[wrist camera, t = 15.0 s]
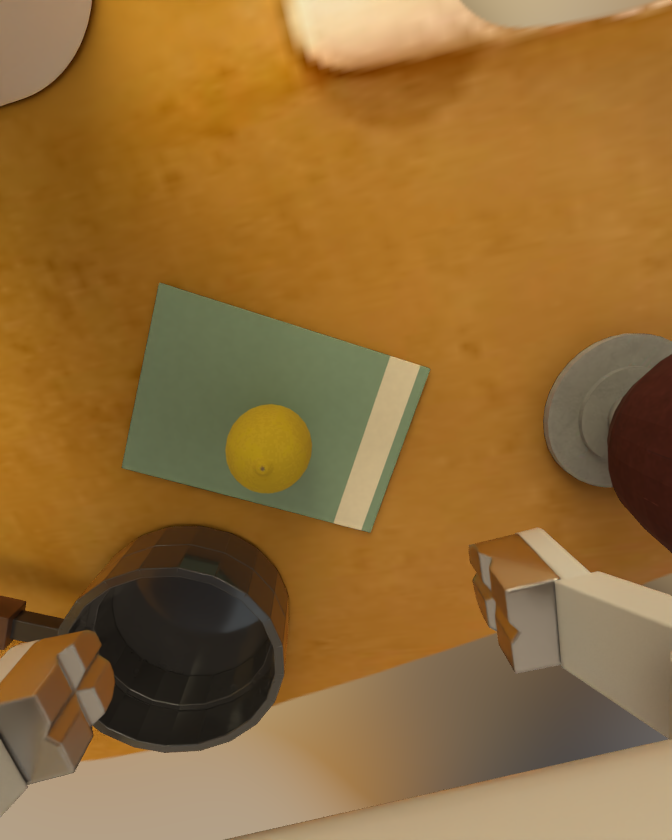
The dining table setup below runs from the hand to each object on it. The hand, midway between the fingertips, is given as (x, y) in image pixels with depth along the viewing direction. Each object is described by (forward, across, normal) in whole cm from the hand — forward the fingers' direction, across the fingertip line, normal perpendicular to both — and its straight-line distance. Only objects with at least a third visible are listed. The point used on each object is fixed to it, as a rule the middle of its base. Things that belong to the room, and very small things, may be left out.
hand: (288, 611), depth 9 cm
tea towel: (+22, +2, +1) cm, 23 cm away
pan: (+22, +13, +16) cm, 30 cm away
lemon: (+22, +3, +2) cm, 22 cm away
